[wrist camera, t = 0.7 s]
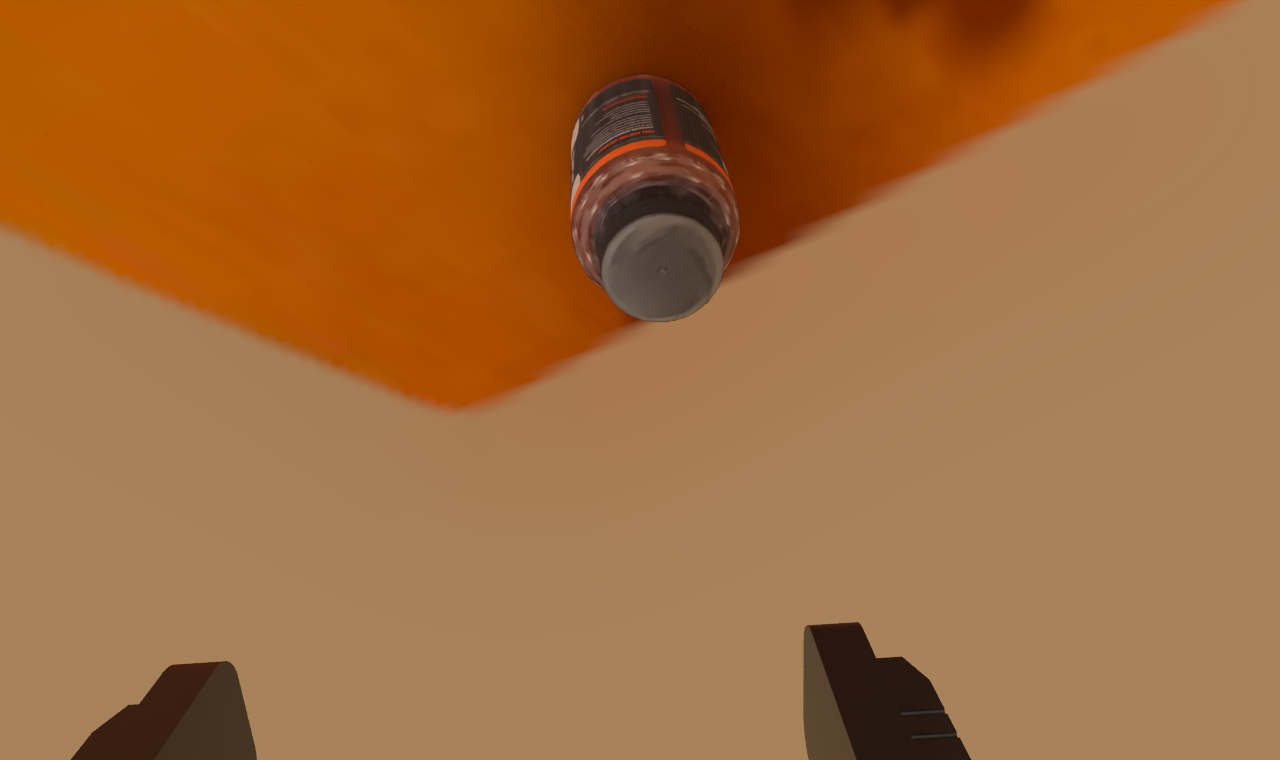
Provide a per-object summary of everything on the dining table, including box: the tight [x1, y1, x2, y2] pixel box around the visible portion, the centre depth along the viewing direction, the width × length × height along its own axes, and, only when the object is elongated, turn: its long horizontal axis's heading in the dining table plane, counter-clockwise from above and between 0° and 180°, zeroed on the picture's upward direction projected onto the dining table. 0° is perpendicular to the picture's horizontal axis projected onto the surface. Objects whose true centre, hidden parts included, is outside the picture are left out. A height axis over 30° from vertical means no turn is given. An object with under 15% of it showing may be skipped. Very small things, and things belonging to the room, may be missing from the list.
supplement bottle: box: [571, 74, 740, 322], centre depth 33 cm, size 6×6×11 cm
